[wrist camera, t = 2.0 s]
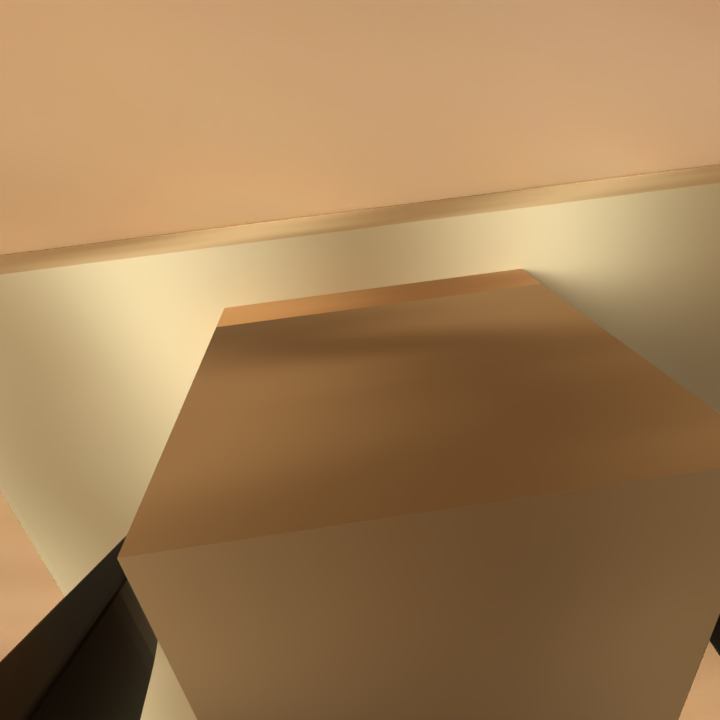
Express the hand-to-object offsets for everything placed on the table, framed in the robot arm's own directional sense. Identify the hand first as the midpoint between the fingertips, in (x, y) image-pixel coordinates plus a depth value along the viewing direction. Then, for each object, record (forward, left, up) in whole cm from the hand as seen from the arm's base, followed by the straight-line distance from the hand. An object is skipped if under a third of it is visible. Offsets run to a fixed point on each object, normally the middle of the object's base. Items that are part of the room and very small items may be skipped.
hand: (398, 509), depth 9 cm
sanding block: (0, 0, -1) cm, 1 cm away
